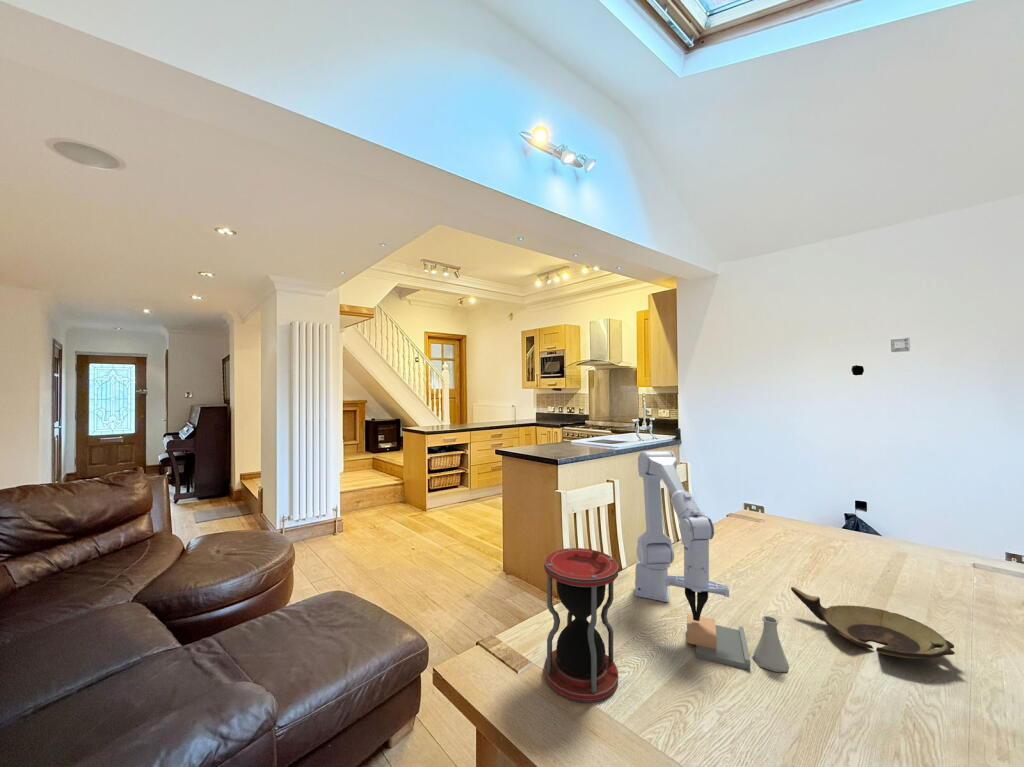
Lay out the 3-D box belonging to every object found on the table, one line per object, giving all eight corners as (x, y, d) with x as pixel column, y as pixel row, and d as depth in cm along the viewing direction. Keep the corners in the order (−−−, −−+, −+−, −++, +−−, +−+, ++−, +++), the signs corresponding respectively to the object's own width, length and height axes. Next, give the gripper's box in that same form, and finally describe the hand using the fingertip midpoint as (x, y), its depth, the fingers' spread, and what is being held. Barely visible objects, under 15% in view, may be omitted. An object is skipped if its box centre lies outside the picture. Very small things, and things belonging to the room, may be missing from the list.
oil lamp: (920, 692, 86) (920, 655, 86) (780, 617, 114) (780, 589, 114) (974, 665, 94) (974, 631, 94) (831, 601, 122) (831, 575, 122)
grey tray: (696, 657, 97) (696, 647, 97) (696, 625, 109) (696, 617, 109) (750, 670, 92) (750, 660, 92) (743, 635, 105) (743, 627, 105)
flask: (783, 656, 97) (783, 613, 97) (793, 676, 90) (793, 631, 90) (749, 649, 100) (749, 608, 100) (756, 669, 93) (756, 624, 93)
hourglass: (632, 696, 84) (632, 574, 84) (557, 709, 81) (557, 582, 81) (599, 647, 100) (599, 544, 100) (535, 656, 97) (535, 550, 97)
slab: (686, 630, 100) (716, 636, 98) (687, 613, 108) (714, 619, 105) (686, 642, 100) (716, 649, 98) (687, 625, 108) (714, 631, 105)
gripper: (664, 565, 102) (664, 620, 102) (730, 576, 97) (730, 634, 97) (666, 555, 109) (666, 606, 109) (727, 564, 103) (727, 619, 103)
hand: (696, 618), depth 103 cm, fingers closed
